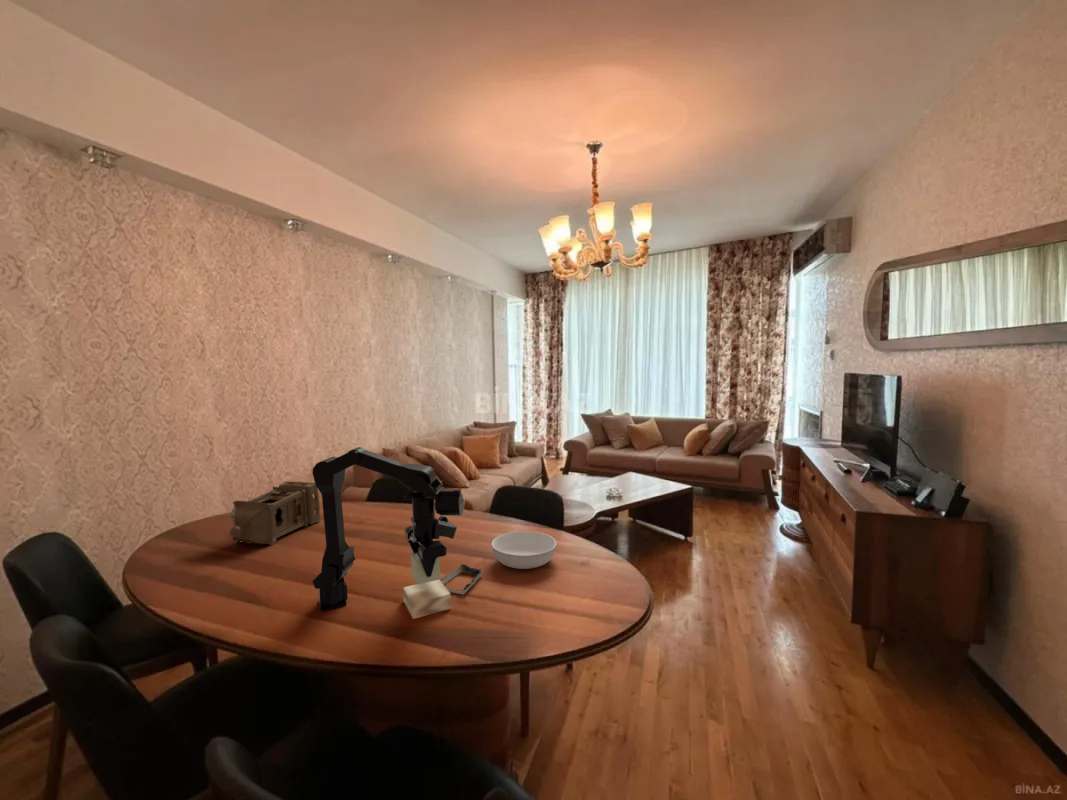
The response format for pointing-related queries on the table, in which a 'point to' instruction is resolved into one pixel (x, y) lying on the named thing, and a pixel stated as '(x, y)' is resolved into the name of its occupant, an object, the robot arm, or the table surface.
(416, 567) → the green cube
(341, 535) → the robot arm
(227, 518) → the table surface
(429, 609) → the beige square block
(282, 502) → the toy tower
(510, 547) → the serving bowl
